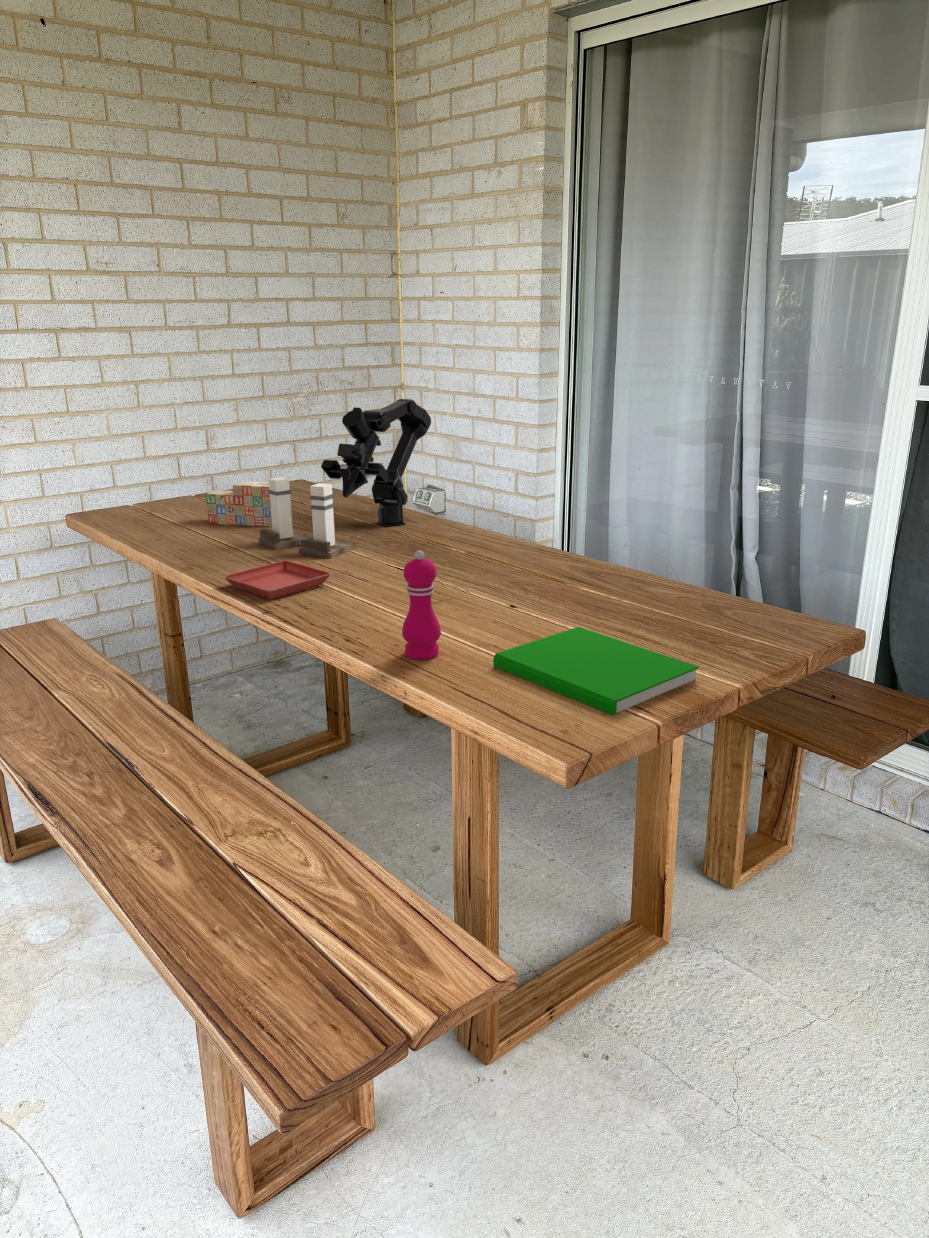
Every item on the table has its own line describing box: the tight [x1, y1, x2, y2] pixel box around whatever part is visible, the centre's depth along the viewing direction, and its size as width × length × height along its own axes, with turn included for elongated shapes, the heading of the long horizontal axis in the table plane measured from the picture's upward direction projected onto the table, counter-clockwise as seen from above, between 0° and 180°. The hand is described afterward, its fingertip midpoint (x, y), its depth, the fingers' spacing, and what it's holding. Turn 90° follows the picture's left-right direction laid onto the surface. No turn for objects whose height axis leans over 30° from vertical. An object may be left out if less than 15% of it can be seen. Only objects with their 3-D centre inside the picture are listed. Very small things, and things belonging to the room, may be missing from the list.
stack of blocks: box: [205, 481, 272, 528], centre depth 280 cm, size 21×6×12 cm, turn 76°
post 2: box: [309, 483, 336, 546], centre depth 244 cm, size 4×4×16 cm
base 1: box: [258, 528, 314, 550], centre depth 257 cm, size 12×10×4 cm
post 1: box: [268, 476, 294, 539], centre depth 254 cm, size 4×4×16 cm
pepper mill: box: [401, 550, 442, 660], centre depth 172 cm, size 7×7×20 cm
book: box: [492, 626, 700, 716], centre depth 165 cm, size 22×28×3 cm
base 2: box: [298, 539, 356, 559], centre depth 248 cm, size 12×10×4 cm
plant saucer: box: [223, 560, 332, 600], centre depth 218 cm, size 18×18×3 cm
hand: (344, 496), depth 253 cm, fingers closed
